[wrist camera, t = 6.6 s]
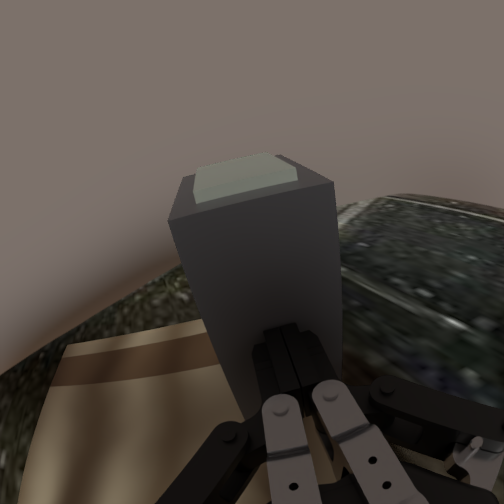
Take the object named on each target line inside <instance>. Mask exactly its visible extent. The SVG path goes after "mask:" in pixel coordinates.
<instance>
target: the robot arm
mask: <svg viewBox="0 0 504 504" xmlns="http://www.w3.org/2000/svg"><path fill="white" fill-rule="evenodd" d="M263 334H264V338H265V342H264V343H260V344H256V345H254V347H253V351H252V359H253V363H254V368H255V372H256V377H257V381H258V386H259V390H260V394H261V399H262V404H261V407H260V409H259V411H258V412H257V413H256V414H255V415H254V416H253V417H251V418H249V419H248V420H246V421H244V422H242V423H239V422H236V421H226V422H223V423H220V424H219V425H217V426H216V427H215V428H214V429H213V431H212V432H211V433H210V435H209V436H208V437H207V439H206V440H205V441H204V443H203V444H202V445H201V447H200V448H199V449H198V451H197V452H196V453H195V454H194V456H193V457H192V458H191V460H190V461H189V462H188V463H187V465H186V466H185V467H184V469H183V470H182V471H181V472H180V474H179V475H178V476H177V477H176V479H175V480H174V481H173V482H172V483H171V485H170V486H169V487H168V488H167V489H166V491H165V492H164V493H163V494H162V495H161V497H160V498H159V499H158V500H157V501H156V503H155V504H235V503H236V502H237V501H238V499H239V498H240V496H241V495H242V493H243V492H244V490H245V489H246V487H247V486H248V484H249V483H250V481H251V480H252V478H253V477H254V475H255V473H256V472H257V470H258V469H259V467H260V465H261V464H263V463H265V462H266V461H267V470H268V478H269V485H270V493H271V501H269V502H268V503H266V504H499V502H498V500H497V498H496V496H495V495H494V494H493V493H492V492H491V491H492V488H493V485H494V483H495V480H496V477H497V475H498V472H499V469H500V466H501V463H502V460H503V457H504V410H502V409H498V408H494V407H491V406H487V405H483V404H480V403H476V402H473V401H469V400H466V399H463V398H459V397H456V396H453V395H449V394H446V393H443V392H440V391H437V390H434V389H431V388H428V387H424V386H421V385H418V384H416V383H413V382H410V381H407V380H404V379H401V378H398V377H395V376H392V375H384V376H380V377H378V378H376V379H375V380H374V381H373V382H372V384H371V385H364V386H351V385H347V384H345V383H343V382H342V381H341V380H340V379H339V378H338V376H337V375H336V372H335V370H334V368H333V366H332V364H331V362H330V360H329V358H328V356H327V354H326V353H325V350H324V348H323V346H322V344H321V342H320V340H319V338H318V336H317V335H316V334H314V333H313V332H312V331H310V330H307V331H303V332H300V331H299V329H298V327H297V324H296V323H295V322H294V323H290V324H286V325H283V326H280V329H279V327H276V328H272V329H268V330H264V331H263ZM304 413H305V416H306V417H308V416H311V415H312V418H313V421H314V424H315V431H316V433H317V435H318V437H319V439H320V442H321V444H322V446H323V448H324V450H325V452H326V454H327V457H328V459H329V461H330V463H331V466H332V469H333V473H334V476H335V478H336V480H337V482H335V483H330V484H319V485H318V483H317V479H316V475H315V470H314V466H313V461H312V457H311V453H310V449H309V447H308V442H307V438H306V434H305V429H304V424H303V418H305V417H304ZM386 440H387V441H389V442H392V443H394V444H397V445H399V446H402V447H405V448H407V449H410V450H413V451H415V452H418V453H421V454H424V455H427V456H430V457H433V458H436V459H439V460H442V461H444V468H445V470H446V472H447V473H448V474H449V475H451V476H453V477H455V478H456V479H457V480H455V479H452V478H449V477H446V476H443V475H440V474H438V473H435V472H432V471H430V470H427V469H424V468H422V467H419V466H417V465H414V464H411V463H407V462H401V461H399V460H398V459H397V457H396V455H395V454H394V452H393V450H392V449H391V447H390V446H389V444H388V442H387V441H386Z"/></svg>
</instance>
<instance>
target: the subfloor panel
mask: <svg viewBox="0 0 504 504" xmlns="http://www.w3.org/2000/svg"><path fill="white" fill-rule="evenodd" d="M304 417H305V418H303V424H304V429H305V434H306V438H307V442H308V447H309V449H310V453H311V457H312V461H313V466H314V470H315V475H316V479H317V483H318V485H319V484H330V483H335V482H337V480H336V478H335V476H334V473H333V469H332V466H331V463H330V461H329V459H328V457H327V454H326V452H325V450H324V448H323V446H322V444H321V442H320V439H319V437H318V435H317V433H316V431H315V424H314V421H313V418H312V415H311V416H308V417H306V416H305V413H304ZM226 421H236V422H239V423H242V422H244V421H245V419H244V417H243V415H242V413H241V411H240V409H239V406H238V404H237V402H236V400H235V397H234V395H233V393H232V391H231V388H230V386H229V384H228V382H227V379H226V377H225V375H224V372H223V370H222V367H221V365H220V363H219V360H218V358H217V355H216V353H215V351H214V348H213V346H212V343H211V341H210V338H209V336H208V333H207V331H206V328H205V326H204V323H203V320H202V319H199V320H194V321H190V322H185V323H181V324H176V325H172V326H167V327H162V328H157V329H152V330H147V331H143V332H137V333H132V334H127V335H122V336H116V337H111V338H106V339H100V340H94V341H88V342H82V343H76V344H70V345H67V347H66V349H65V352H64V354H63V356H62V359H61V361H60V363H59V366H58V368H57V371H56V373H55V376H54V378H53V381H52V383H51V386H50V389H49V391H48V394H47V397H46V399H45V402H44V405H43V408H42V411H41V414H40V417H39V420H38V423H37V426H36V429H35V433H34V436H33V439H32V443H31V446H30V450H29V454H28V458H27V461H26V465H25V470H24V474H23V478H22V483H21V488H20V493H19V499H18V504H155V503H156V501H157V500H158V499H159V498H160V497H161V495H162V494H163V493H164V492H165V491H166V489H167V488H168V487H169V486H170V485H171V483H172V482H173V481H174V480H175V479H176V477H177V476H178V475H179V474H180V472H181V471H182V470H183V469H184V467H185V466H186V465H187V463H188V462H189V461H190V460H191V458H192V457H193V456H194V454H195V453H196V452H197V451H198V449H199V448H200V447H201V445H202V444H203V443H204V441H205V440H206V439H207V437H208V436H209V435H210V433H211V432H212V431H213V429H214V428H215V427H216V426H217V425H219V424H220V423H223V422H226ZM269 501H271V493H270V485H269V478H268V470H267V461H266V462H265V463H263V464H261V465H260V467H259V469H258V470H257V472H256V473H255V475H254V477H253V478H252V480H251V481H250V483H249V484H248V486H247V487H246V489H245V490H244V492H243V493H242V495H241V496H240V498H239V499H238V501H237V502H236V503H235V504H266V503H268V502H269Z"/></svg>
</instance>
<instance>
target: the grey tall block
mask: <svg viewBox="0 0 504 504" xmlns="http://www.w3.org/2000/svg"><path fill="white" fill-rule="evenodd" d="M168 224H169V227H170V230H171V233H172V236H173V239H174V242H175V245H176V248H177V251H178V254H179V257H180V260H181V263H182V266H183V269H184V271H185V274H186V277H187V280H188V283H189V286H190V288H191V291H192V294H193V296H194V299H195V302H196V305H197V307H198V310H199V313H200V315H201V318H202V320H203V323H204V326H205V328H206V331H207V333H208V336H209V338H210V341H211V343H212V346H213V348H214V351H215V353H216V355H217V358H218V360H219V363H220V365H221V367H222V370H223V372H224V375H225V377H226V379H227V382H228V384H229V386H230V388H231V391H232V393H233V395H234V397H235V400H236V402H237V404H238V406H239V409H240V411H241V413H242V415H243V417H244V419H245V421H246V420H248V419H249V418H251V417H253V416H254V415H255V414H256V413H257V412H258V411H259V409H260V407H261V404H262V399H261V394H260V390H259V386H258V381H257V377H256V372H255V368H254V363H253V359H252V351H253V347H254V345H256V344H260V343H264V342H265V338H264V334H263V331H264V330H268V329H272V328H276V327H279V329H280V326H283V325H286V324H290V323H294V322H295V323H296V324H297V327H298V329H299V331H300V332H303V331H307V330H310V331H312V332H313V333H314V334H316V335H317V336H318V338H319V340H320V342H321V344H322V346H323V348H324V350H325V353H326V354H327V356H328V358H329V360H330V362H331V364H332V366H333V368H334V370H335V372H336V375H337V376H338V378H339V379H340V380H341V381H342V286H341V264H340V248H339V233H338V221H337V210H336V200H335V190H334V182H333V181H331V180H329V179H327V178H325V177H324V176H322V175H320V174H318V173H316V172H314V171H312V170H310V169H308V168H306V167H304V166H302V165H300V164H298V163H296V162H294V161H292V160H290V159H288V158H286V157H284V156H282V155H276V156H273V155H271V154H269V153H268V152H265V153H260V154H255V155H250V156H246V157H241V158H237V159H232V160H228V161H224V162H220V163H215V164H212V165H207V166H203V167H200V168H197V170H196V174H194V175H190V176H186V177H183V179H182V182H181V184H180V187H179V190H178V193H177V196H176V198H175V201H174V204H173V207H172V210H171V213H170V216H169V218H168Z"/></svg>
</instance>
